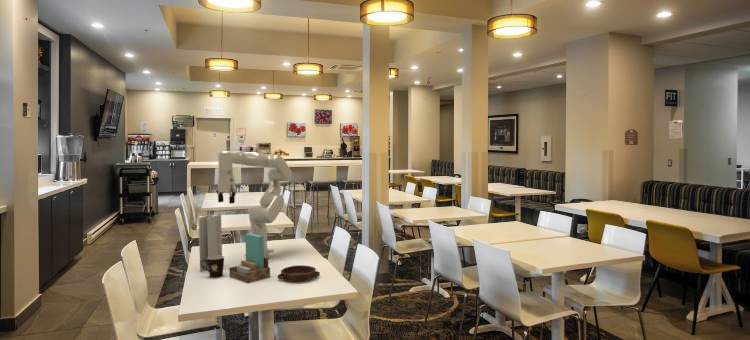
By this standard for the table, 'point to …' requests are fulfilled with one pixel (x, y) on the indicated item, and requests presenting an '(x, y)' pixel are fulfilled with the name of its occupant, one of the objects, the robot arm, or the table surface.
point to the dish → (298, 273)
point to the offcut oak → (249, 265)
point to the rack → (251, 273)
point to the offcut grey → (243, 270)
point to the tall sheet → (255, 249)
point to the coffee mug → (215, 265)
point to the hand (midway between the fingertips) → (226, 202)
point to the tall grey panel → (209, 238)
